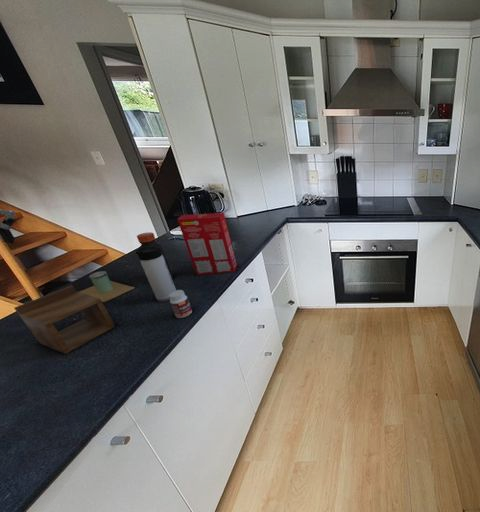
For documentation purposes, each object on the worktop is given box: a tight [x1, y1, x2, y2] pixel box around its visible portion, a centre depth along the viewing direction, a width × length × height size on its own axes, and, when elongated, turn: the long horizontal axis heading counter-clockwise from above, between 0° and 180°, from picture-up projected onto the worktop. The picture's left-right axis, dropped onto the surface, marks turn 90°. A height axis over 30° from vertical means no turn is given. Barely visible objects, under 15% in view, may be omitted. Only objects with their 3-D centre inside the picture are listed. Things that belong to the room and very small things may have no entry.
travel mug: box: [135, 247, 177, 302], centre depth 96 cm, size 6×7×20 cm
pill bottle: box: [169, 289, 193, 319], centre depth 90 cm, size 5×5×8 cm
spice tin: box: [88, 270, 114, 293], centre depth 102 cm, size 5×5×7 cm
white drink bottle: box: [136, 231, 174, 280], centre depth 107 cm, size 7×7×20 cm
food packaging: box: [177, 212, 238, 276], centre depth 113 cm, size 15×5×25 cm, turn 104°
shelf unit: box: [13, 284, 116, 355], centre depth 80 cm, size 12×12×13 cm
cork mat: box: [79, 280, 136, 303], centre depth 103 cm, size 16×10×1 cm, turn 72°
